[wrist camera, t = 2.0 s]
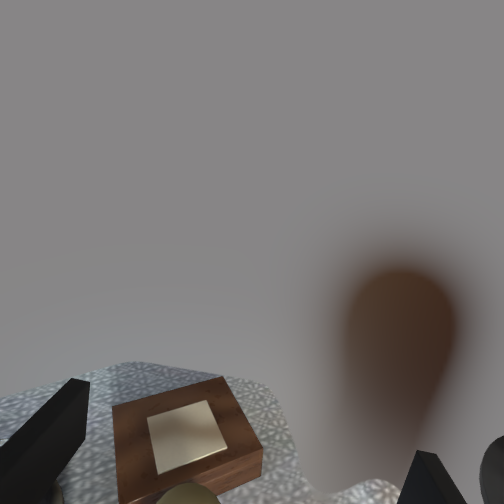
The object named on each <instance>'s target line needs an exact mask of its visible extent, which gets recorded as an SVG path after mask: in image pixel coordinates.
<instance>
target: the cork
mask: <svg viewBox="0 0 504 504" xmlns="http://www.w3.org/2000/svg"><path fill="white" fill-rule="evenodd" d="M156 504H220V502H219V500H218V498H217V497H216V495H215V494H214V493H213V492H212V491H211V490H210V489H208V488H207V487H205V486H203V485H200V484H198V483H184V484H180V485H177V486H175V487H174V488H172V489H170V490H169V491H167V492H166V493H165V494H164V495H163V496H162V497H161V499H160V500H159V501H158V502H157V503H156Z"/></svg>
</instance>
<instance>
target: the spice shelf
mask: <svg viewBox="0 0 504 504" xmlns="http://www.w3.org/2000/svg"><path fill="white" fill-rule="evenodd" d="M112 415H113V429H114V444H115V458H116V472H117V486H118V501H119V504H156V503H157V502H158V501H159V500H160V499H161V497H162V496H163V495H164V494H165V493H166V492H167V491H169V490H170V489H172V488H174V487H175V486H177V485H180V484H184V483H198V484H200V485H203V486H205V487H207V488H208V489H210V490H211V491H212V492H213V493H214V494H215V495H216V496H217V495H220V494H222V493H224V492H226V491H229V490H231V489H233V488H235V487H237V486H240V485H242V484H244V483H246V482H249V481H251V480H253V479H255V478H257V477H260V476H261V467H262V458H263V447H262V445H261V443H260V442H259V440H258V438H257V436H256V434H255V433H254V431H253V429H252V427H251V426H250V424H249V422H248V420H247V418H246V417H245V415H244V413H243V411H242V410H241V408H240V406H239V404H238V402H237V401H236V399H235V397H234V395H233V394H232V392H231V390H230V388H229V386H228V385H227V383H226V381H225V379H224V378H223V376H221V377H218V378H214V379H210V380H207V381H203V382H199V383H196V384H192V385H188V386H185V387H181V388H177V389H174V390H170V391H166V392H163V393H159V394H156V395H152V396H148V397H145V398H141V399H137V400H134V401H130V402H126V403H123V404H119V405H115V406H112Z"/></svg>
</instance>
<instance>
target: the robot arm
mask: <svg viewBox="0 0 504 504" xmlns="http://www.w3.org/2000/svg"><path fill="white" fill-rule="evenodd" d="M89 390H90V382H88V381H83V380H78V379H74V378H71V379H70V380H69V381H68V382H67V383H66V384H65V385H64V386H63V387H62V388H61V389H60V390H59V391H58V392H57V393H56V394H54V395H53V396H52V397H51V398H50V399H49V400H48V401H47V402H46V403H45V404H44V405H43V406H42V407H41V408H40V409H39V410H38V411H37V412H36V413H35V414H34V415H33V416H32V417H31V418H30V419H29V420H28V421H27V422H26V423H25V424H24V425H23V426H22V427H21V428H20V429H19V430H18V431H17V432H16V433H15V434H13V435H12V436H11V437H10V438H9V439H8V440H7V441H6V442H5V443H4V444H3V445H2V446H1V447H0V504H39V502H40V501H41V500H42V498H43V497H44V495H45V494H46V493H47V491H48V490H49V489H50V487H51V486H52V484H53V483H54V482H55V480H56V479H57V477H58V476H59V475H60V473H61V472H62V471H63V469H64V468H65V466H66V465H67V464H68V462H69V461H70V460H71V458H72V457H73V455H74V454H75V453H76V451H77V450H78V448H79V447H80V446H81V444H82V443H83V442H84V440H85V436H86V424H87V413H88V401H89ZM397 504H467V503H466V501H465V500H464V498H463V496H462V495H461V493H460V492H459V490H458V489H457V487H456V485H455V484H454V482H453V480H452V479H451V477H450V475H449V474H448V472H447V471H446V469H445V467H444V466H443V464H442V463H441V461H440V459H439V458H438V456H437V455H436V454H434V453H429V452H424V451H419V450H417V451H416V454H415V456H414V459H413V462H412V465H411V467H410V470H409V472H408V475H407V478H406V480H405V483H404V486H403V488H402V491H401V493H400V496H399V499H398V501H397Z"/></svg>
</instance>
